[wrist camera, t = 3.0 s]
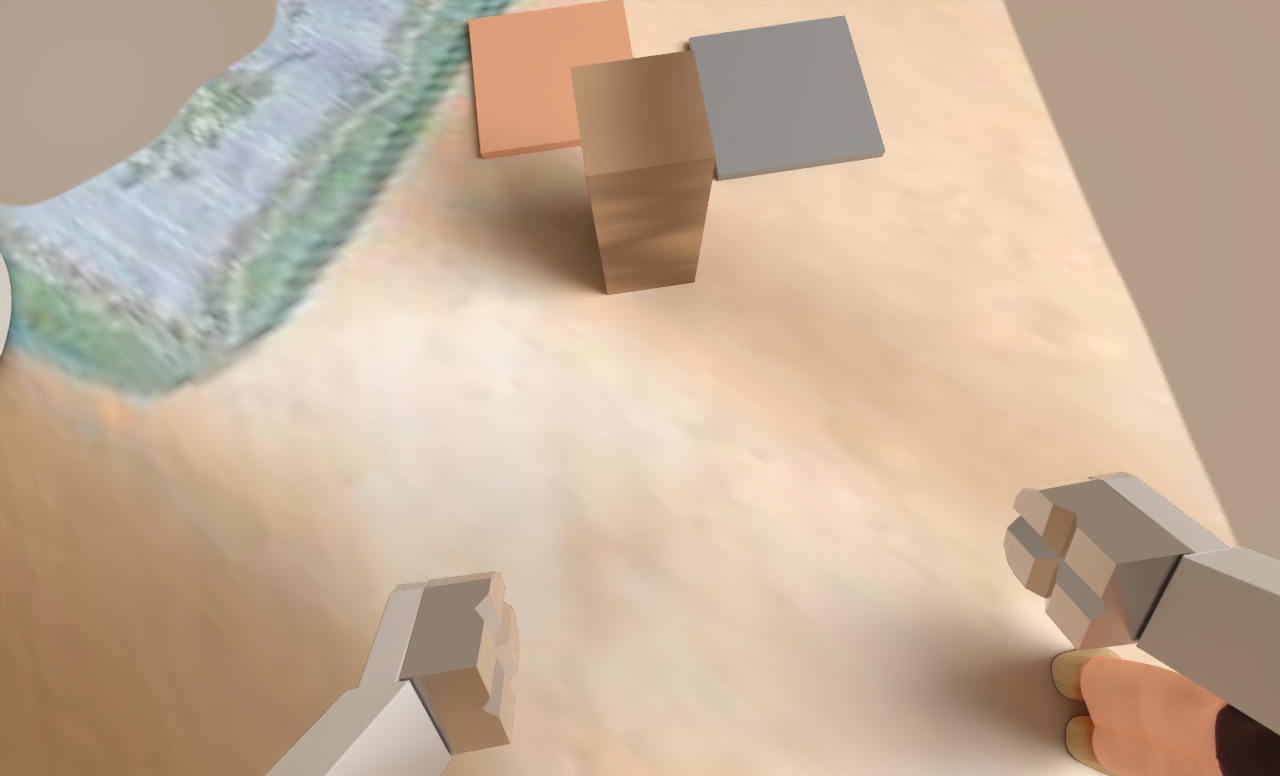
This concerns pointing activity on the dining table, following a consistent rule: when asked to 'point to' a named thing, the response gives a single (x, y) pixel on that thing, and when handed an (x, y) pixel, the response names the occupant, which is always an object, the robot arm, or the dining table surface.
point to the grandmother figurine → (1157, 722)
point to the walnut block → (646, 166)
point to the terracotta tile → (539, 72)
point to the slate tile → (785, 98)
